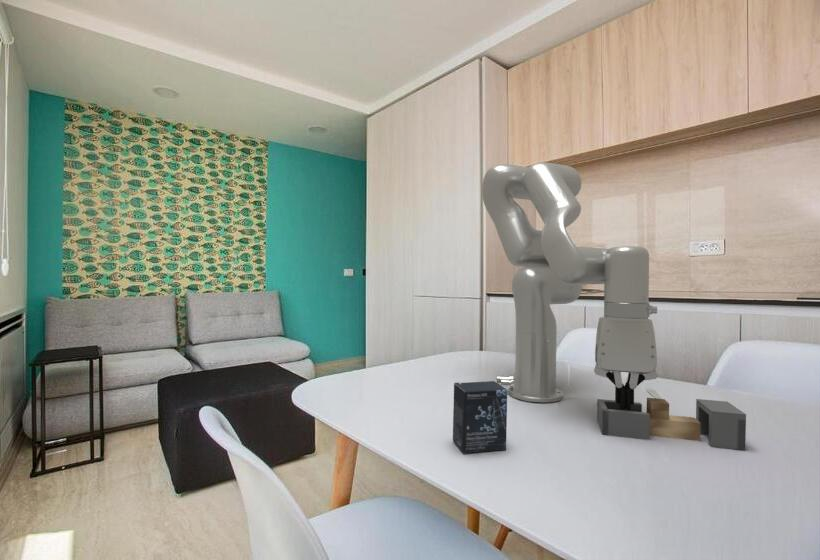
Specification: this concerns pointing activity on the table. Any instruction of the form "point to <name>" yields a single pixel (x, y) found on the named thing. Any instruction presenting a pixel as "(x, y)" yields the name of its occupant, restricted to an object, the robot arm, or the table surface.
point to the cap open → (623, 420)
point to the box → (479, 416)
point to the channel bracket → (722, 424)
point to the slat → (671, 422)
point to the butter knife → (653, 393)
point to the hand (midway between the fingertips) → (624, 407)
